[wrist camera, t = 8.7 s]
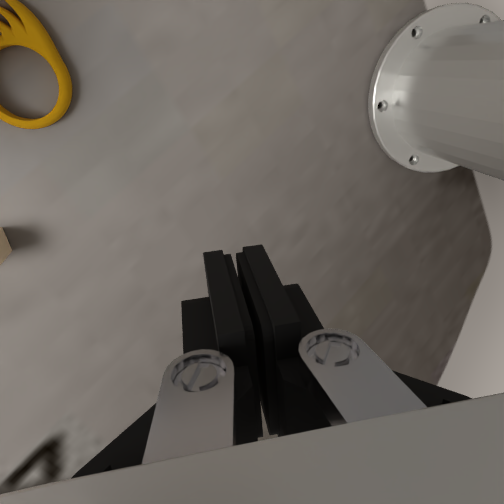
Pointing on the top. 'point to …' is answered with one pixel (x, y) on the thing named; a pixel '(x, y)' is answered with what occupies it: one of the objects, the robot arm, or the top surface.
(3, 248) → the cream blocks and ball
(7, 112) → the novelty glasses
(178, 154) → the top surface
